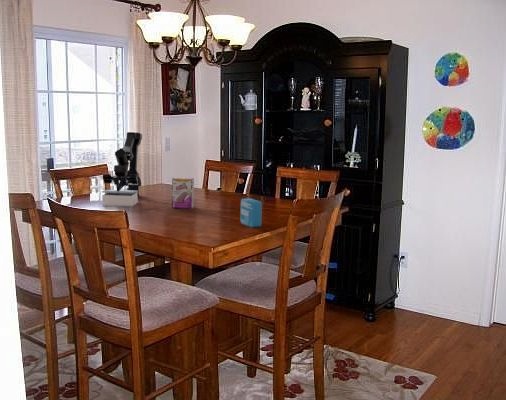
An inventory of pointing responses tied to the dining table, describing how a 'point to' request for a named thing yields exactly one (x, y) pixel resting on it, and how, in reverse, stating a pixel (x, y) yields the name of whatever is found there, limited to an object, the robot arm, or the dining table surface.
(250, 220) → the data package
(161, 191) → the dining table surface
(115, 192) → the lid
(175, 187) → the candy bar box
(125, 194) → the storage box
